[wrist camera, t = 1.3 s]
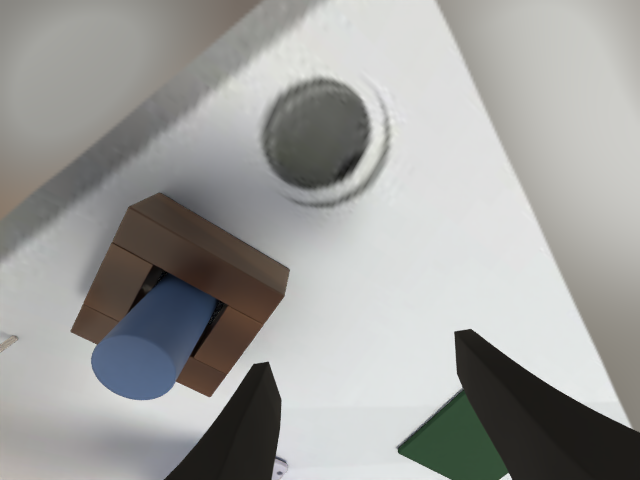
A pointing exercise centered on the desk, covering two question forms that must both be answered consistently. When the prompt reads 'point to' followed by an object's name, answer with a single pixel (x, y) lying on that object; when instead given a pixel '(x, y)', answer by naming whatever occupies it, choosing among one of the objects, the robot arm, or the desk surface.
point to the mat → (456, 445)
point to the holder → (192, 267)
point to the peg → (153, 340)
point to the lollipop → (7, 343)
